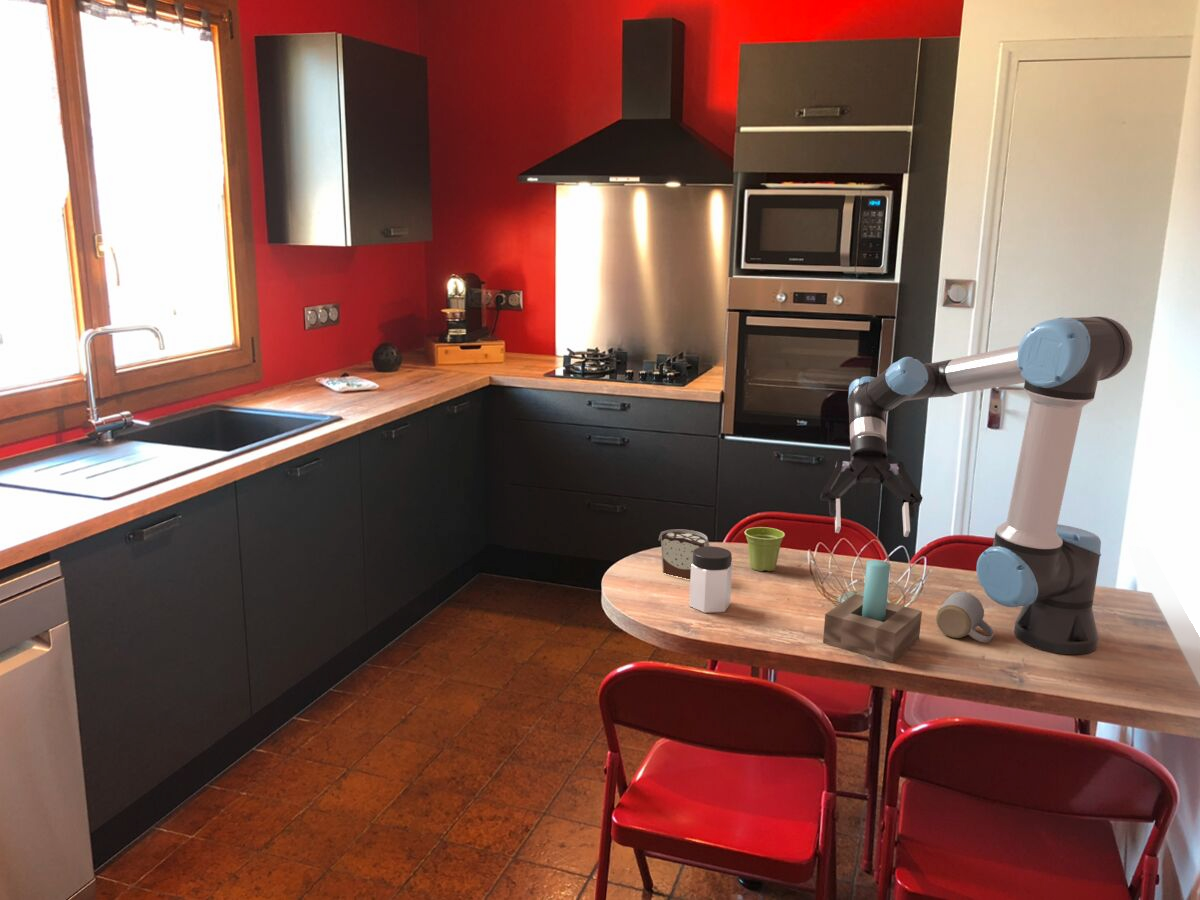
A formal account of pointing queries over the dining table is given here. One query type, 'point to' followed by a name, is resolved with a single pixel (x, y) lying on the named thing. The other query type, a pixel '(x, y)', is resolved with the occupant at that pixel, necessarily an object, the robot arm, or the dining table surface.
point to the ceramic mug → (963, 617)
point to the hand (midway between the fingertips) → (872, 532)
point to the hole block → (872, 629)
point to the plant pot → (763, 547)
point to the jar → (710, 579)
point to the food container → (680, 550)
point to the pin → (876, 590)
